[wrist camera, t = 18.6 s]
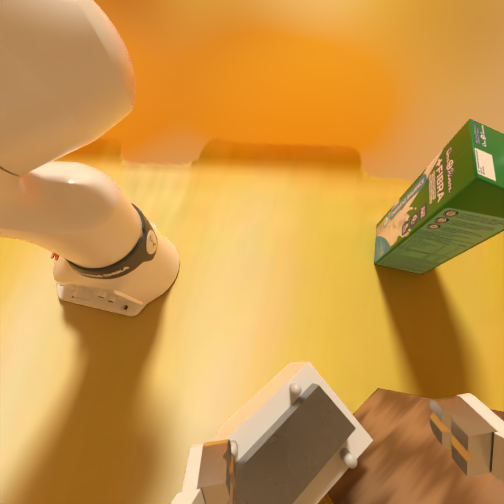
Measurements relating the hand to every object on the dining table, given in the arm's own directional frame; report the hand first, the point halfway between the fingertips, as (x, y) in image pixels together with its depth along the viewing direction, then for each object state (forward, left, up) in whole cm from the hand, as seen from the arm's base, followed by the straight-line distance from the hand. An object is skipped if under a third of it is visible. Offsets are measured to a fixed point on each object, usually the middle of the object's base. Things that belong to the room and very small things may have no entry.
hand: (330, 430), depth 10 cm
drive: (-4, -8, -18) cm, 20 cm away
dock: (0, -5, -34) cm, 34 cm away
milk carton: (+25, +24, -34) cm, 49 cm away
